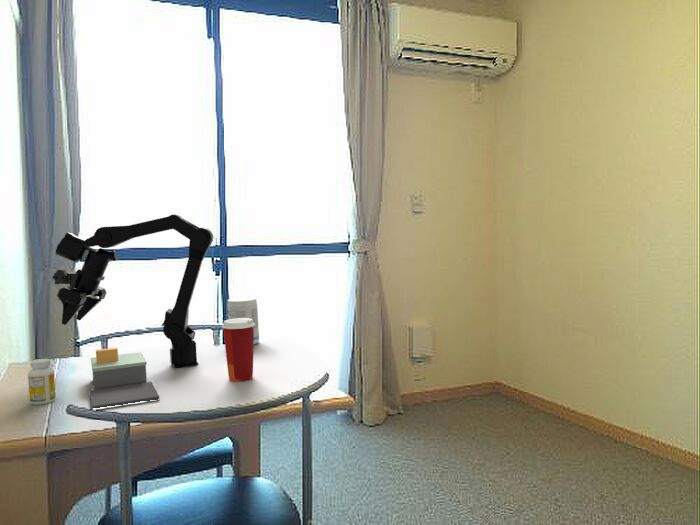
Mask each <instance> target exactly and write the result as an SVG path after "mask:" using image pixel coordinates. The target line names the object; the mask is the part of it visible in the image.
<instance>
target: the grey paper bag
mask: <svg viewBox="0 0 700 525" xmlns="http://www.w3.org/2000/svg"><path fill="white" fill-rule="evenodd" d="M234 318H250V319H253V323H254V324H255V326H254V339H253V346H254V345H257V344H258V343H259V342H260V334H259V333H260V332H259V315H258V302H257V298H256V297H253V296H252V297H251V296H243V297H242V296H240V297H234V298H233V297H232V298H229V299H227V320H228V319H234Z"/></svg>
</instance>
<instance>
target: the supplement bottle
mask: <svg viewBox="0 0 700 525" xmlns="http://www.w3.org/2000/svg"><path fill="white" fill-rule="evenodd" d="M51 364H52V363H51V359H50V358H38V359H33V360H32V361H30V368H31V370H29V372H28V374H27V377H28V378H27V380H28V381H27V382H28V394H29V395H28V396H29V404H30V405H34V406H37V405H38V406H40V405H46V404H49V403H52V402H54V401H55V400H56V399H57V398H56V382H55V380H56V379H55V370H54V369H53V368H52V367H50V366H51Z"/></svg>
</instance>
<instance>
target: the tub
mask: <svg viewBox="0 0 700 525" xmlns="http://www.w3.org/2000/svg"><path fill="white" fill-rule="evenodd" d="M91 373H92V382H93V390H94V389H101V388H108V387H116V386H123V385H130V384H137V383H144V382H148V380H147V365H142V366H134V367H127V368H119V369H111V370H103V371H95V372H91Z"/></svg>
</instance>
